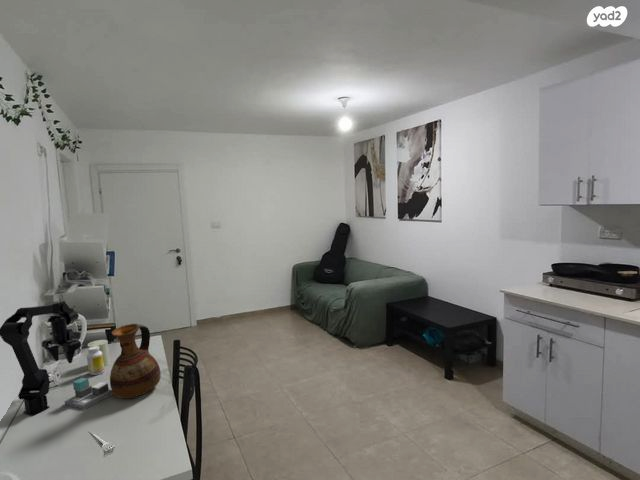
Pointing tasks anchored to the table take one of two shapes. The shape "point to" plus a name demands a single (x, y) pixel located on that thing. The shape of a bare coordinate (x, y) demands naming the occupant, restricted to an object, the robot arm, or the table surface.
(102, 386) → the block
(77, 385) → the teal cube
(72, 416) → the table surface
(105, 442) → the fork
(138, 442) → the table surface
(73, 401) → the breaker panel
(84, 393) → the block
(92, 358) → the supplement bottle
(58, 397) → the table surface
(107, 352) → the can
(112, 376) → the ceramic pitcher
